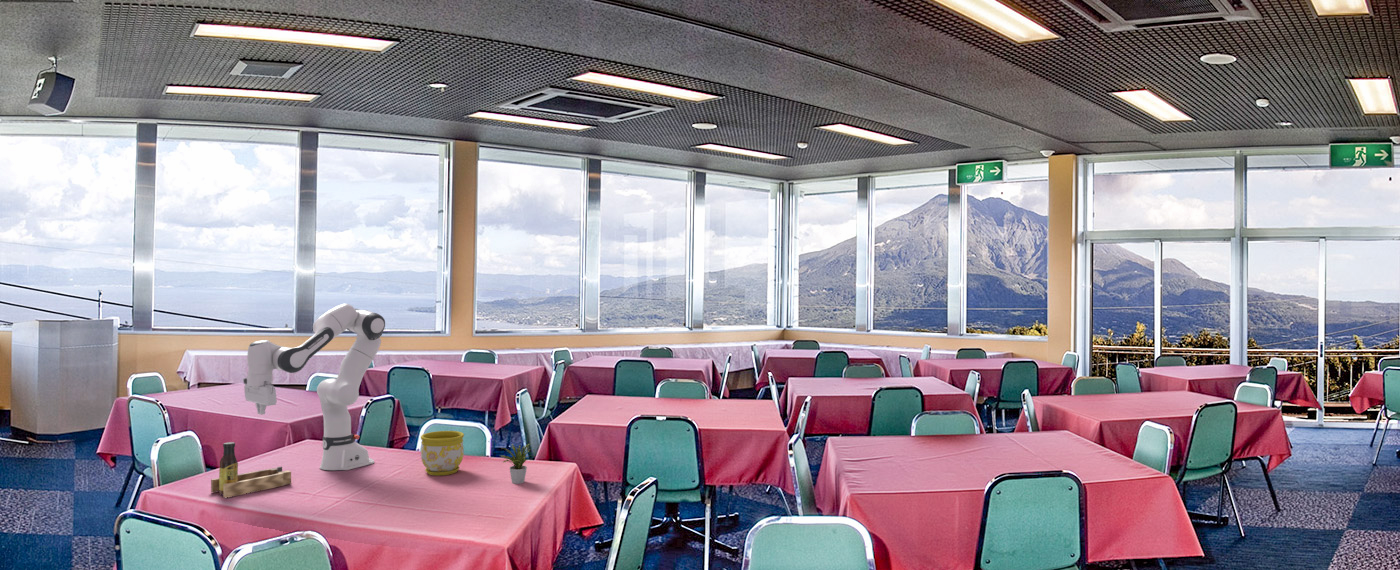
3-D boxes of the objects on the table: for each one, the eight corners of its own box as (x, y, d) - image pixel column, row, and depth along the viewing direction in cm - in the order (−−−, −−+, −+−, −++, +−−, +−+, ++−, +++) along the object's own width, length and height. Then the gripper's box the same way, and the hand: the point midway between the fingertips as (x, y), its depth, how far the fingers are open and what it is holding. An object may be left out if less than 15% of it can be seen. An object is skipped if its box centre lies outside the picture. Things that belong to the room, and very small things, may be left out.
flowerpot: (460, 465, 360) (460, 429, 360) (466, 474, 344) (467, 437, 344) (418, 469, 353) (418, 432, 352) (423, 479, 336) (423, 440, 336)
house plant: (513, 475, 344) (514, 437, 344) (541, 478, 339) (542, 440, 339) (494, 483, 330) (494, 444, 330) (523, 487, 326) (523, 447, 325)
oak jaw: (287, 482, 328) (287, 470, 328) (291, 483, 326) (291, 471, 326) (221, 496, 308) (221, 483, 308) (225, 498, 306) (225, 485, 305)
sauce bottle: (228, 496, 309) (228, 445, 308) (215, 495, 310) (214, 444, 310) (241, 491, 315) (241, 441, 315) (228, 490, 317) (228, 441, 316)
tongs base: (278, 479, 333) (278, 463, 333) (286, 482, 328) (286, 467, 328) (211, 492, 313) (211, 476, 313) (219, 496, 308) (219, 479, 308)
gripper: (280, 381, 320) (281, 415, 321) (257, 377, 333) (258, 409, 333) (264, 383, 315) (265, 418, 316) (241, 379, 328) (242, 412, 328)
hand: (261, 414), depth 325 cm, fingers closed
